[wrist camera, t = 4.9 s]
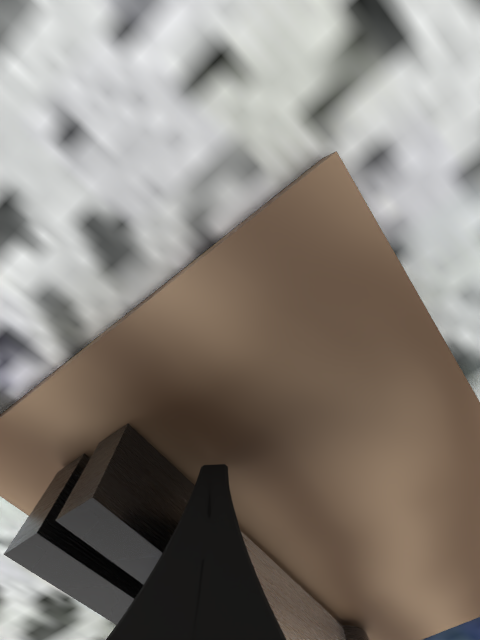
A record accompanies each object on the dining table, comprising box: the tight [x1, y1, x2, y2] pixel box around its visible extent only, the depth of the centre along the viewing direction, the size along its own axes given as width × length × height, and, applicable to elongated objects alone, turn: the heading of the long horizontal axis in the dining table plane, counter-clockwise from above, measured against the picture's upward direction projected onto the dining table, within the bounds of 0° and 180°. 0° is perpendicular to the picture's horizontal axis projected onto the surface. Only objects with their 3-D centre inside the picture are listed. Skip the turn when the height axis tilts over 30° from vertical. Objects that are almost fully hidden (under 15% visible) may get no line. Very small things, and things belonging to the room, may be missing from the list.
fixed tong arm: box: [4, 453, 143, 625], centre depth 13 cm, size 15×2×3 cm, turn 37°
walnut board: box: [0, 152, 480, 640], centre depth 15 cm, size 18×24×2 cm
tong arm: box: [55, 424, 369, 640], centre depth 13 cm, size 19×3×3 cm, turn 36°
